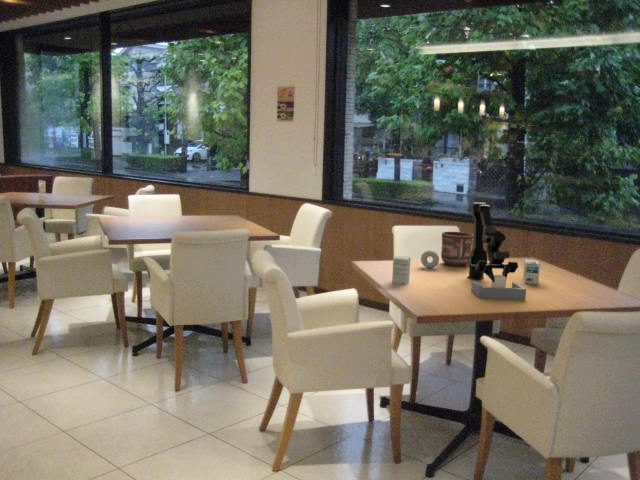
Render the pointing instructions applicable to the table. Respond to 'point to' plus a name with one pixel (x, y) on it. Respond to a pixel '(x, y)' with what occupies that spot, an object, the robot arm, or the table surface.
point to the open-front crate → (499, 292)
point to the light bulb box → (531, 271)
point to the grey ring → (431, 254)
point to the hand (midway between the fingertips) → (499, 282)
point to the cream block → (499, 281)
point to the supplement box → (401, 270)
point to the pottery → (456, 248)
